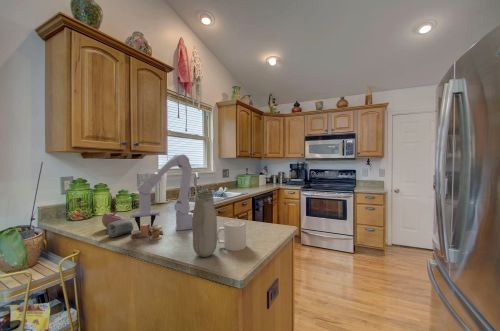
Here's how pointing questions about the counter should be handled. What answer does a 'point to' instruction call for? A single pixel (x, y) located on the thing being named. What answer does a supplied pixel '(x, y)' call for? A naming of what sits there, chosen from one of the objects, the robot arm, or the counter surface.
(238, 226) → the mug
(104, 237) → the counter surface
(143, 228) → the salmon pink cuboid
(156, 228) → the bobbin
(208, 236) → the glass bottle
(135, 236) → the notched board
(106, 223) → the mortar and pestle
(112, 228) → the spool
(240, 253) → the counter surface
